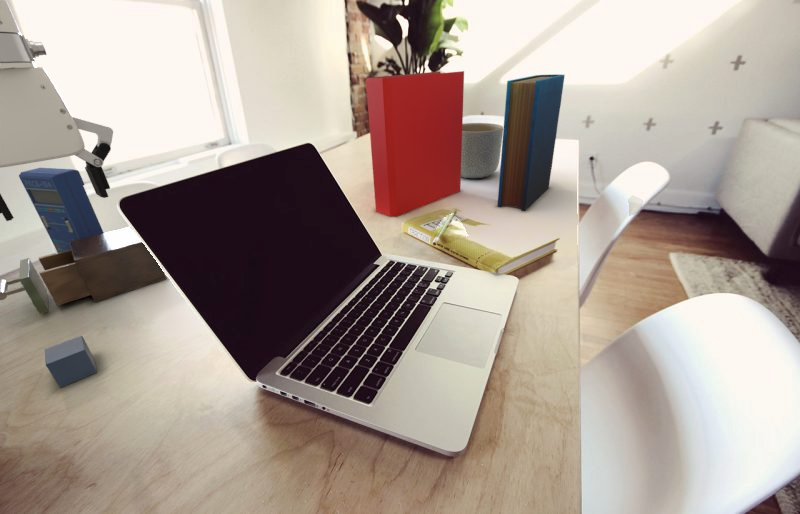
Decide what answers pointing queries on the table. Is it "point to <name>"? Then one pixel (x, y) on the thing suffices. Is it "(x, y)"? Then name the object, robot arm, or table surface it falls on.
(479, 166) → the planter
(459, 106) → the book
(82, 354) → the block
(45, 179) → the electronic device
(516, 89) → the book
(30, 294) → the drawer
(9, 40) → the robot arm
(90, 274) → the cabinet
